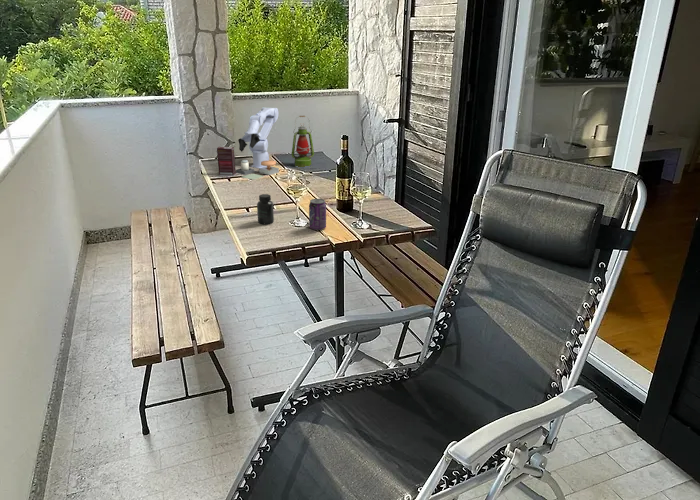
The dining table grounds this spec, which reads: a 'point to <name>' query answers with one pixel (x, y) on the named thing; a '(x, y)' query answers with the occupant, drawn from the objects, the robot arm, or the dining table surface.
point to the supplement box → (226, 161)
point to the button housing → (268, 170)
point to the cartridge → (244, 165)
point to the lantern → (302, 146)
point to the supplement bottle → (265, 210)
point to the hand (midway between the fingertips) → (246, 148)
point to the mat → (252, 176)
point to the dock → (245, 171)
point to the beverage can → (317, 214)
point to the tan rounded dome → (268, 163)
